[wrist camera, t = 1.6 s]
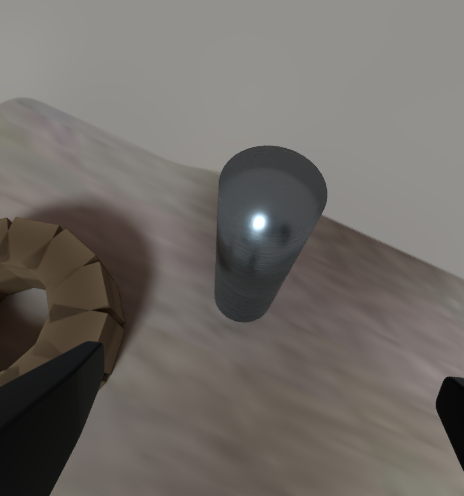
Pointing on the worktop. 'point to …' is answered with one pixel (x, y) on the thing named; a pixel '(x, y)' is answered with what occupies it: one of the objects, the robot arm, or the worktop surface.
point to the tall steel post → (262, 226)
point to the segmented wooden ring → (59, 292)
